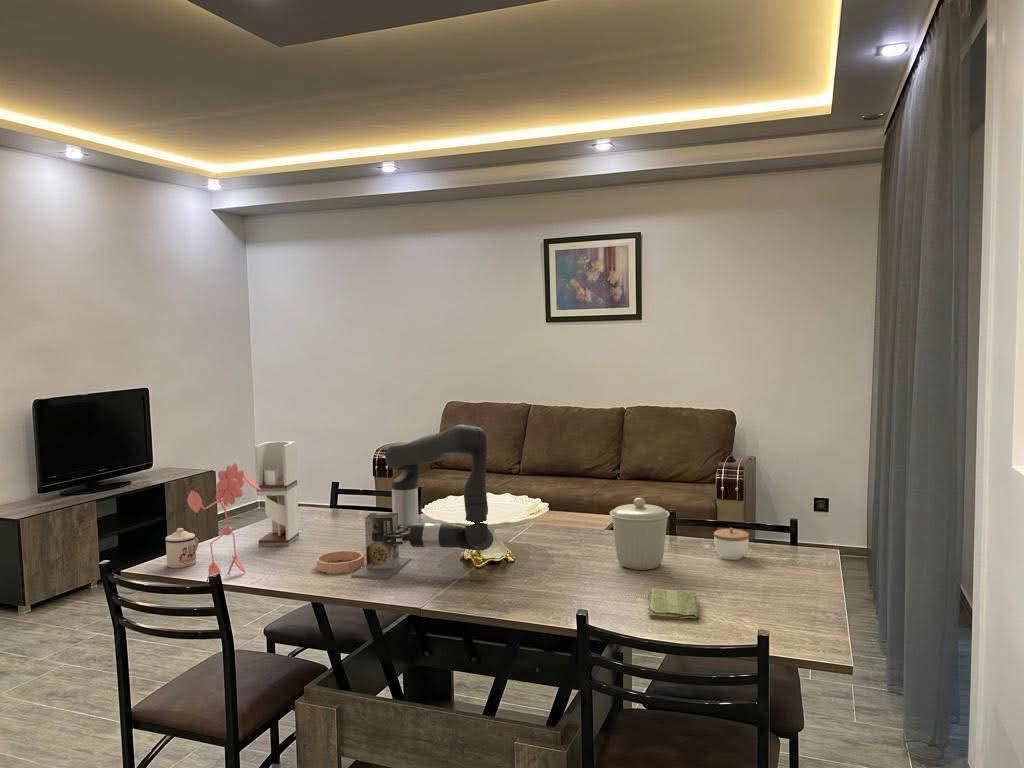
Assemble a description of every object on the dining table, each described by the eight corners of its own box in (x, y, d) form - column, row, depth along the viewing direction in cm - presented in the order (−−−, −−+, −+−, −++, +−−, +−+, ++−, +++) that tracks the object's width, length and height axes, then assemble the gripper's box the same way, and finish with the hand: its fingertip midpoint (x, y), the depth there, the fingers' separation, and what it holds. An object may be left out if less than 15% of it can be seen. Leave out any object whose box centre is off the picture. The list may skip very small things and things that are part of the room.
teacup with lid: (182, 569, 243) (180, 533, 243) (159, 567, 246) (158, 531, 246) (209, 559, 255) (207, 524, 254) (187, 556, 258) (185, 522, 257)
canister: (678, 562, 241) (678, 495, 240) (655, 578, 226) (655, 506, 225) (625, 554, 251) (625, 489, 250) (600, 568, 236) (599, 500, 235)
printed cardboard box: (400, 563, 244) (398, 512, 243) (394, 569, 237) (393, 517, 236) (372, 562, 245) (370, 512, 244) (365, 568, 238) (364, 517, 237)
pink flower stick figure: (182, 590, 222) (179, 470, 220) (244, 566, 246) (242, 456, 244) (224, 597, 216) (222, 473, 214) (284, 571, 240) (282, 459, 238)
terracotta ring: (329, 558, 252) (328, 549, 252) (370, 560, 249) (370, 551, 249) (308, 572, 238) (308, 562, 238) (352, 574, 235) (352, 564, 235)
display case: (270, 537, 281) (266, 441, 279) (299, 537, 281) (295, 441, 278) (258, 546, 270) (254, 446, 268) (288, 545, 269) (285, 445, 267)
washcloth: (647, 621, 193) (647, 608, 193) (648, 597, 210) (648, 585, 210) (701, 623, 191) (701, 610, 191) (697, 599, 208) (697, 587, 208)
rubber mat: (376, 558, 252) (376, 556, 252) (411, 559, 249) (411, 557, 249) (351, 577, 232) (351, 575, 232) (389, 578, 230) (389, 576, 230)
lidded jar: (713, 560, 242) (712, 531, 241) (714, 551, 252) (714, 523, 251) (748, 563, 239) (748, 533, 238) (749, 553, 249) (749, 525, 248)
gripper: (434, 517, 244) (385, 516, 247) (419, 528, 230) (368, 527, 233) (434, 541, 244) (386, 539, 247) (420, 553, 230) (369, 551, 234)
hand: (377, 533), depth 240 cm, fingers open, 8 cm apart
